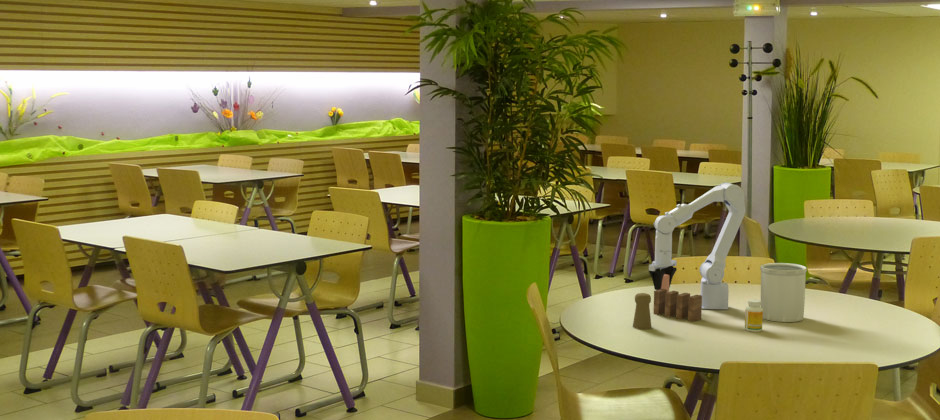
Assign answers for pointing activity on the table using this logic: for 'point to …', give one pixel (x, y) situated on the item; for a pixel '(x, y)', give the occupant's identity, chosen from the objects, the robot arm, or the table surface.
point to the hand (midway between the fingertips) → (662, 288)
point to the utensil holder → (783, 291)
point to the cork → (642, 311)
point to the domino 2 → (665, 282)
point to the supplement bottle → (753, 316)
